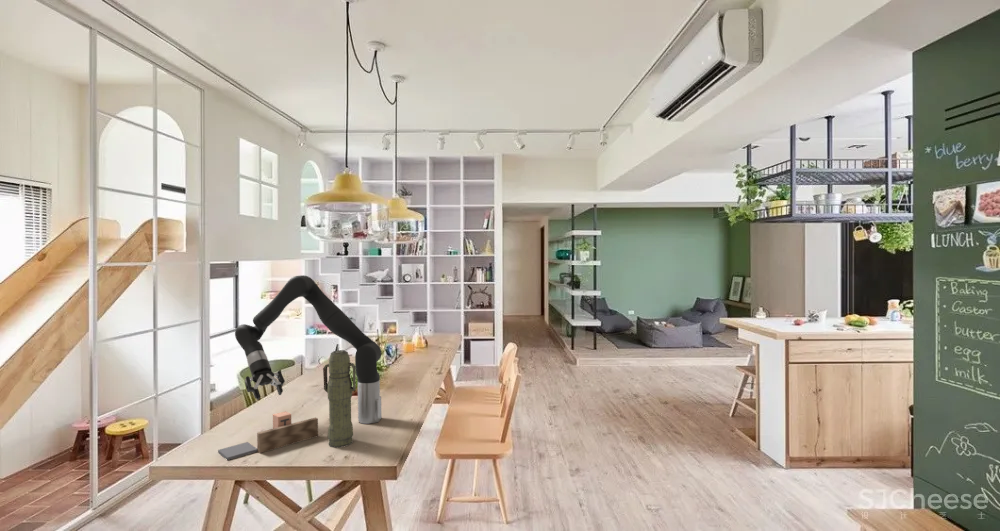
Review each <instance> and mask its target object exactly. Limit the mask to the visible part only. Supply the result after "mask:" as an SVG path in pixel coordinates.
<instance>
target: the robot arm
mask: <svg viewBox="0 0 1000 531" xmlns="http://www.w3.org/2000/svg"><path fill="white" fill-rule="evenodd" d="M301 297H302V298H303V299H305V300H306V301H307V302H309V303H310V305H311V306H312V307H313V308H314V310H315V312H316V314H317V316H318V319H319V320H320V322H321V323H322V324H323V325H324V326H325V327H326V328H327V329H328V330H329V331H330V332H331V333H333V334H334V335H335V336H337V337H339V338H341V339H342V340H344V341H345V342H348V343H349V344H350V345H351V346H352V347H353V348H354V349H355V350H356V351H355V356H354V361H355V362H354V365H355V369H356V379H357V413H358V414H357V420H358V421H359V422H360V424H367V425H368V424H375V423H378V422H380V421H381V419H382V415H383V414H382V396H381V390H380V389H381V384H380V382H381V380H380V378H381V377H380V373H379V372H378V361H379V360H380V359H381V357H382V349H381V347H380V346H379V345H378V344H377V343H376V341H374V340H373V339H371V338H370V337H369V336H368V335H366V334H365V333H364V332H363V331H362V330H361V329H360V328H359V327H358V326H357V325H356V324H355V323H354V322H353V321H352V320H351V319H350V317H348V316H347V314H346V312H344V311H343V310H341V308H339V307H338V306H337V304H335V303H334V301H333V300H331V299H330V298H329V297H328V296H327V295H326V294H325V293H324V292H323V290H321V288H320V287H319V286H318V285H317V283H316V282H315V281H314V280H313V278H311V277H310V276H309V275H308V276H307V275H295V276H293V277H291V278H290V279H288V281H287V282H286V283H285V285H284V286H283V287H282V289H281V290H280V291H279V292H278V293H277V295H275V296H274V298H273V299H272V300H271V301H270V302H269V303H268V304H267V305H266V306H265V307H264V308H262V309H261V310H260V311H259V312H258V313H257V314H256V315H255V316H253V318H252V322H253V325H254V326H253V325H250V324H249V325H248V324H243V323H242V324H239V325H238V326H237V327H236V328H235V330H234V336H235V340H236V341H237V342H238V343H237V344H239V345H240V347H241V348H242V349H243V351H244V354H245V357H246V361H247V367H248V368H249V372H250V374H251V376H245V379H244V385H245V387H246V392H247V393H253V396H254V398H255V399H256V400H260V398H261V394H260V391H259V389H258V388H259V386H260V387H263V386H267V385H270V386H274V387H275V388H276V392H277V394H278V396H282V394H283V391H284V389H283V387H282V386H284V384H285V382H286V381H285V378H284V376H283V373H282V371H281V370H278V371H277V372H273V371H272V367H271V364H270V361H269V359H268V356H267V354H266V352H265V350H264V347H263V344H262V343H261V342H260V341H259V340H260V339H262V337H263V335H264V334H265V332H266V330H268V327H270V326H271V325H272V324H273V323H274V322H275V321H276V320H277V319H278V318H279V317H280V316H281V314H282V313H283V312H284V310H285V309H286V308H287V307H288V305H289V304H290V303H292V302H293V301H294V300H296V299H298V298H301ZM251 382H254V383H255V385H254V386H252V383H251ZM359 422H358V423H359Z"/></svg>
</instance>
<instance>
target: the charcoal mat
mask: <svg viewBox="0 0 1000 531" xmlns="http://www.w3.org/2000/svg"><path fill="white" fill-rule="evenodd" d="M217 451H218V452H217V453H218V454H219V455H220V456H222V458H224V459H225V458H226V459H227V460H226V459H225V460H226V461H230V460H229V459H231V460H234V459H237V457H238V458H240V456H241V457H244V455H245V456H248V455H252V454H255V453H259V452H258V449H257V447H255V446H254V445H253V444H251V443H250V442H248V441H246V442H243V443H239V444H235V445H231V446H228V447H224V448H220V449H218V450H217ZM233 458H234V459H233Z"/></svg>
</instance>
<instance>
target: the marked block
mask: <svg viewBox="0 0 1000 531" xmlns="http://www.w3.org/2000/svg"><path fill="white" fill-rule="evenodd" d="M289 424H292V414H291V412H288V411H286V410H285V411H282V412H281V411H280V412H276V413H273V414H272V429H273V428H277V427H281V426H285V425H289Z"/></svg>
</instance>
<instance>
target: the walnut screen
mask: <svg viewBox="0 0 1000 531" xmlns="http://www.w3.org/2000/svg"><path fill="white" fill-rule="evenodd" d="M256 434H257V435H256V441H257V442H256V443H257V447H256V448H257V449H258V452H257V453H259V454H261V453H262V454H263V453H265V452H269V451H273V450H276V449H279V448H282V447H285V446H289V445H292V444H296V443H300V442H303V441H307V440H311V439H314V438H316V436H317V437H319V418H318V417H316V416H315V417H312V418H308V419H305V420H300V421H297V422H293V423H292V422H291V424H289V425H285V426H281V427H277V428H273V427H272V428H270V429H267V430H263V431H258V432H257V433H256Z"/></svg>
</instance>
